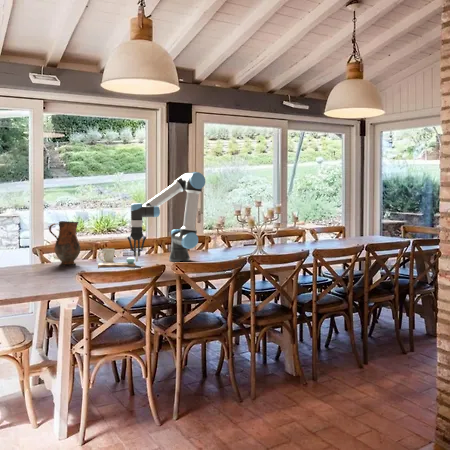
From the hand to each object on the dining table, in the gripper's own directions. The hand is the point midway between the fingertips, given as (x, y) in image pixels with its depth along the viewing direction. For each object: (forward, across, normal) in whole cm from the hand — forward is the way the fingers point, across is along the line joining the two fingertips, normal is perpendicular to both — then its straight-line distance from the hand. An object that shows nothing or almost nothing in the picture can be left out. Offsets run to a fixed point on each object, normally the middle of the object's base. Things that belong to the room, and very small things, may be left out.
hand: (136, 261), depth 340 cm
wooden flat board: (+4, +13, 0) cm, 14 cm away
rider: (+3, +4, 0) cm, 5 cm away
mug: (+4, +22, -19) cm, 30 cm away
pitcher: (+4, +49, -13) cm, 51 cm away
